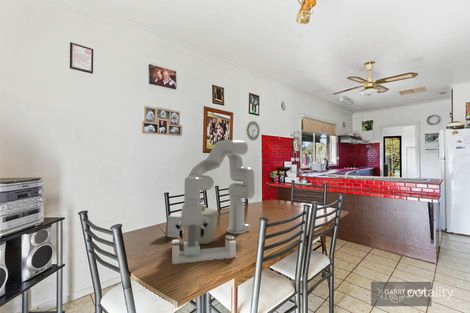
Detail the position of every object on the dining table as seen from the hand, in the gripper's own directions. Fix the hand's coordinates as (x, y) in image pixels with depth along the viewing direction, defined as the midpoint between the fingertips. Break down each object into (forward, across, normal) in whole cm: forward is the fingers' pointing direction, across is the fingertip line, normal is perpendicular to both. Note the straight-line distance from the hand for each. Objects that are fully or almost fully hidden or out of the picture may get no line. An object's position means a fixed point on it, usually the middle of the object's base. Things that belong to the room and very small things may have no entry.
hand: (191, 237), depth 112 cm
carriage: (+7, 0, 0) cm, 7 cm away
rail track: (+10, -6, 0) cm, 11 cm away
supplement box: (+10, +7, -33) cm, 35 cm away
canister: (+10, -8, -20) cm, 24 cm away
